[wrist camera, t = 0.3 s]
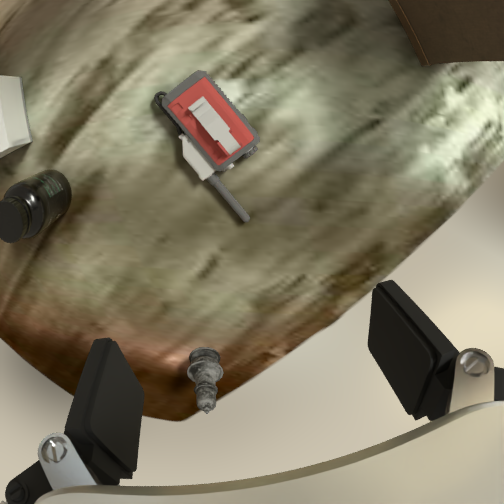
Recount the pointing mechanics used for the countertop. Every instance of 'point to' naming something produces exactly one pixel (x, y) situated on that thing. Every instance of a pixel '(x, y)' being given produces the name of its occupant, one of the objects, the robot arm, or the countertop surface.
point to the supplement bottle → (33, 205)
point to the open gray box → (13, 116)
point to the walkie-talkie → (209, 130)
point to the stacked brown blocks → (453, 29)
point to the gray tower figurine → (205, 376)
